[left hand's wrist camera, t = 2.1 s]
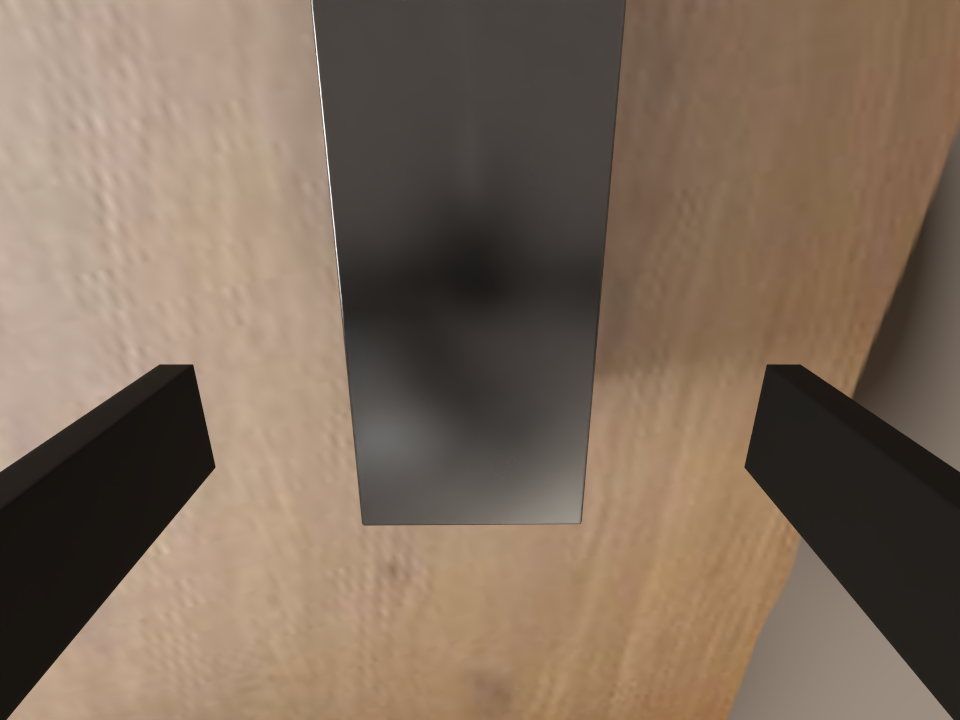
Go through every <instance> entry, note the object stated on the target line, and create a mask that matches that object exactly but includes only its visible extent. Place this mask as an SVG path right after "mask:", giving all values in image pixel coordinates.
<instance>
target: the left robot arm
mask: <svg viewBox="0 0 960 720" xmlns="http://www.w3.org/2000/svg"><path fill="white" fill-rule="evenodd" d="M214 469H215V463H214V458H213V453H212V449H211V444H210V440H209V435H208V431H207V426H206V421H205V417H204V412H203V408H202V403H201V398H200V394H199V389H198V385H197V380H196V376H195V371H194V366H193V365H158V366H157V367H155V368H154V369H152V370H151V371H149V372H148V373H146V374H145V375H143V376H142V377H140V378H139V379H138V380H136V381H135V382H133V383H132V384H130V385H129V386H127V387H126V388H124V389H123V390H121V391H120V392H118V393H117V394H115V395H114V396H112V397H111V398H109V399H108V400H106V401H105V402H103V403H102V404H100V405H99V406H98V407H96V408H95V409H93V410H92V411H90V412H89V413H87V414H86V415H84V416H83V417H81V418H80V419H78V420H77V421H75V422H74V423H72V424H71V425H69V426H68V427H66V428H65V429H63V430H62V431H61V432H59V433H58V434H56V435H55V436H53V437H52V438H50V439H49V440H47V441H46V442H44V443H43V444H41V445H40V446H38V447H37V448H35V449H34V450H32V451H31V452H29V453H28V454H26V455H25V456H24V457H22V458H21V459H19V460H18V461H16V462H15V463H13V464H12V465H10V466H9V467H7V468H6V469H4V470H3V471H1V472H0V720H7V718H8V717H9V716H10V715H11V714H12V712H13V711H14V710H15V709H16V708H17V706H18V705H19V704H20V703H21V702H22V700H23V699H24V698H25V697H26V695H27V694H28V693H29V692H30V691H31V689H32V688H33V687H34V686H35V685H36V683H37V682H38V681H39V680H40V679H41V677H42V676H43V675H44V674H45V673H46V671H47V670H48V669H49V668H50V667H51V665H52V664H53V663H54V662H55V660H56V659H57V658H58V657H59V656H60V654H61V653H62V652H63V651H64V650H65V648H66V647H67V646H68V645H69V644H70V642H71V641H72V640H73V639H74V638H75V636H76V635H77V634H78V633H79V632H80V630H81V629H82V628H83V627H84V625H85V624H86V623H87V622H88V621H89V619H90V618H91V617H92V616H93V615H94V613H95V612H96V611H97V610H98V609H99V607H100V606H101V605H102V604H103V603H104V601H105V600H106V599H107V598H108V597H109V595H110V594H111V593H112V592H113V590H114V589H115V588H116V587H117V586H118V584H119V583H120V582H121V581H122V580H123V578H124V577H125V576H126V575H127V574H128V572H129V571H130V570H131V569H132V568H133V566H134V565H135V564H136V563H137V562H138V560H139V559H140V558H141V557H142V555H143V554H144V553H145V552H146V551H147V549H148V548H149V547H150V546H151V545H152V543H153V542H154V541H155V540H156V539H157V537H158V536H159V535H160V534H161V533H162V531H163V530H164V529H165V528H166V527H167V525H168V524H169V523H170V522H171V520H172V519H173V518H174V517H175V516H176V514H177V513H178V512H179V511H180V510H181V508H182V507H183V506H184V505H185V504H186V502H187V501H188V500H189V499H190V498H191V496H192V495H193V494H194V493H195V492H196V490H197V489H198V488H199V487H200V485H201V484H202V483H203V482H204V481H205V479H206V478H207V477H208V476H209V475H210V473H211V472H212V471H213V470H214ZM745 469H746V470H747V471H748V472H749V473H750V475H751V476H752V477H753V478H754V479H755V481H756V482H757V483H758V484H759V485H760V487H761V488H762V489H763V490H764V492H765V493H766V494H767V495H768V496H769V498H770V499H771V500H772V501H773V502H774V504H775V505H776V506H777V507H778V508H779V510H780V511H781V512H782V513H783V514H784V516H785V517H786V518H787V519H788V520H789V522H790V523H791V524H792V525H793V527H794V528H795V529H796V530H797V531H798V533H799V534H800V535H801V536H802V537H803V539H804V540H805V541H806V542H807V543H808V545H809V546H810V547H811V548H812V549H813V551H814V552H815V553H816V554H817V555H818V557H819V558H820V559H821V560H822V562H823V563H824V564H825V565H826V566H827V568H828V569H829V570H830V571H831V572H832V574H833V575H834V576H835V577H836V578H837V580H838V581H839V582H840V583H841V584H842V586H843V587H844V588H845V589H846V590H847V592H848V593H849V594H850V595H851V597H852V598H853V599H854V600H855V601H856V602H857V604H858V605H859V606H860V607H861V609H862V610H863V611H864V612H865V613H866V615H867V616H868V617H869V618H870V619H871V621H872V622H873V623H874V624H875V625H876V627H877V628H878V629H879V630H880V631H881V633H882V634H883V635H884V636H885V638H886V639H887V640H888V641H889V642H890V644H891V645H892V646H893V647H894V648H895V650H896V651H897V652H898V653H899V654H900V656H901V657H902V658H903V659H904V660H905V662H906V663H907V664H908V665H909V666H910V668H911V669H912V670H913V671H914V673H915V674H916V675H917V676H918V677H919V679H920V680H921V681H922V682H923V683H924V684H925V686H926V687H927V688H928V689H929V691H930V692H931V693H932V694H933V695H934V697H935V698H936V699H937V700H938V702H939V703H940V704H941V705H942V706H943V708H944V709H945V710H946V711H947V712H948V714H949V715H950V716H951V717H952V718H953V720H960V472H959V471H957V470H956V469H954V468H953V467H951V466H950V465H948V464H947V463H945V462H944V461H942V460H941V459H939V458H938V457H936V456H935V455H933V454H932V453H931V452H929V451H928V450H926V449H925V448H923V447H922V446H920V445H919V444H917V443H916V442H914V441H913V440H911V439H910V438H908V437H907V436H905V435H904V434H902V433H901V432H899V431H898V430H896V429H895V428H894V427H892V426H891V425H889V424H888V423H886V422H885V421H883V420H882V419H880V418H879V417H877V416H876V415H874V414H873V413H871V412H870V411H868V410H867V409H865V408H864V407H862V406H861V405H859V404H858V403H857V402H855V401H854V400H852V399H851V398H849V397H848V396H846V395H845V394H843V393H842V392H840V391H839V390H837V389H836V388H834V387H833V386H831V385H830V384H828V383H827V382H825V381H824V380H822V379H821V378H820V377H818V376H817V375H815V374H814V373H812V372H811V371H809V370H808V369H806V368H805V367H803V366H802V365H767V366H766V371H765V376H764V380H763V385H762V389H761V394H760V398H759V403H758V408H757V412H756V417H755V421H754V426H753V431H752V435H751V440H750V444H749V449H748V453H747V458H746V463H745Z"/></svg>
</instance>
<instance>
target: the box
mask: <svg viewBox="0 0 960 720" xmlns="http://www.w3.org/2000/svg"><path fill="white" fill-rule="evenodd" d="M625 8H626V0H311V10H312V20H313V30H314V41H315V51H316V61H317V71H318V81H319V91H320V101H321V112H322V122H323V132H324V142H325V152H326V162H327V172H328V183H329V193H330V203H331V213H332V223H333V233H334V243H335V254H336V264H337V274H338V284H339V294H340V304H341V314H342V325H343V335H344V345H345V355H346V365H347V375H348V385H349V396H350V406H351V416H352V426H353V436H354V446H355V456H356V467H357V477H358V487H359V497H360V507H361V517H362V524H363V525H502V524H581V521H582V511H583V499H584V488H585V476H586V464H587V452H588V441H589V429H590V417H591V406H592V394H593V382H594V371H595V359H596V347H597V336H598V324H599V312H600V300H601V289H602V277H603V265H604V254H605V242H606V230H607V219H608V207H609V195H610V184H611V172H612V160H613V148H614V137H615V125H616V113H617V102H618V90H619V78H620V67H621V55H622V43H623V32H624V20H625Z"/></svg>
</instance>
